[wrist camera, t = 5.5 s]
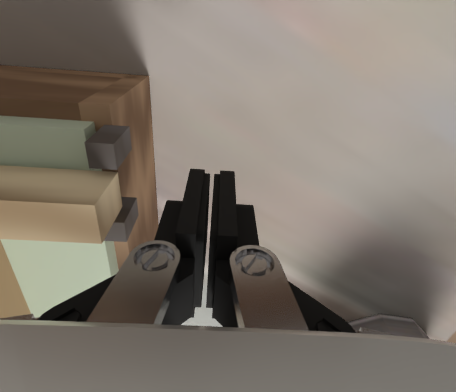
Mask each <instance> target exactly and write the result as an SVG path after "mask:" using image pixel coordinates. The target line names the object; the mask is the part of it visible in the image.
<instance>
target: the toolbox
mask: <svg viewBox="0 0 456 392" xmlns="http://www.w3.org/2000/svg"><path fill="white" fill-rule="evenodd" d="M0 116H16V117H31V118H46V119H62V120H77V121H92V122H94V124H95V130H96V133H94V134H93V135H92V136H91V137H90V138H89V139H88V140H86V141H85V142H84V143H85V148H86V154H87V159H88V164H89V168H93V169H102V171H107V172H118V177H119V184H120V192H121V199H122V208H121V210H120V212H119V214H118V216H117V217H116V219H115V221H114V223H113V225H112V226H111V228H110V230H109V232H108V234H107V236H106V237H105V239H104V241H114V246H115V252H116V258H117V264H118V270H119V269H120V268H121V266H122V264H123V263H124V261H125V260H126V258H127V257H128V255H129V254H130V252H131V251H132V250H133V249H134V248H135V247H137V246H138V245H140V244H142V243H145V242H147V241H154V239H155V236H156V232H157V229H158V211H157V195H156V179H155V163H154V148H153V132H152V116H151V100H150V84H149V76H145V75H131V74H117V73H103V72H89V71H75V70H61V69H47V68H34V67H20V66H6V65H0Z"/></svg>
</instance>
